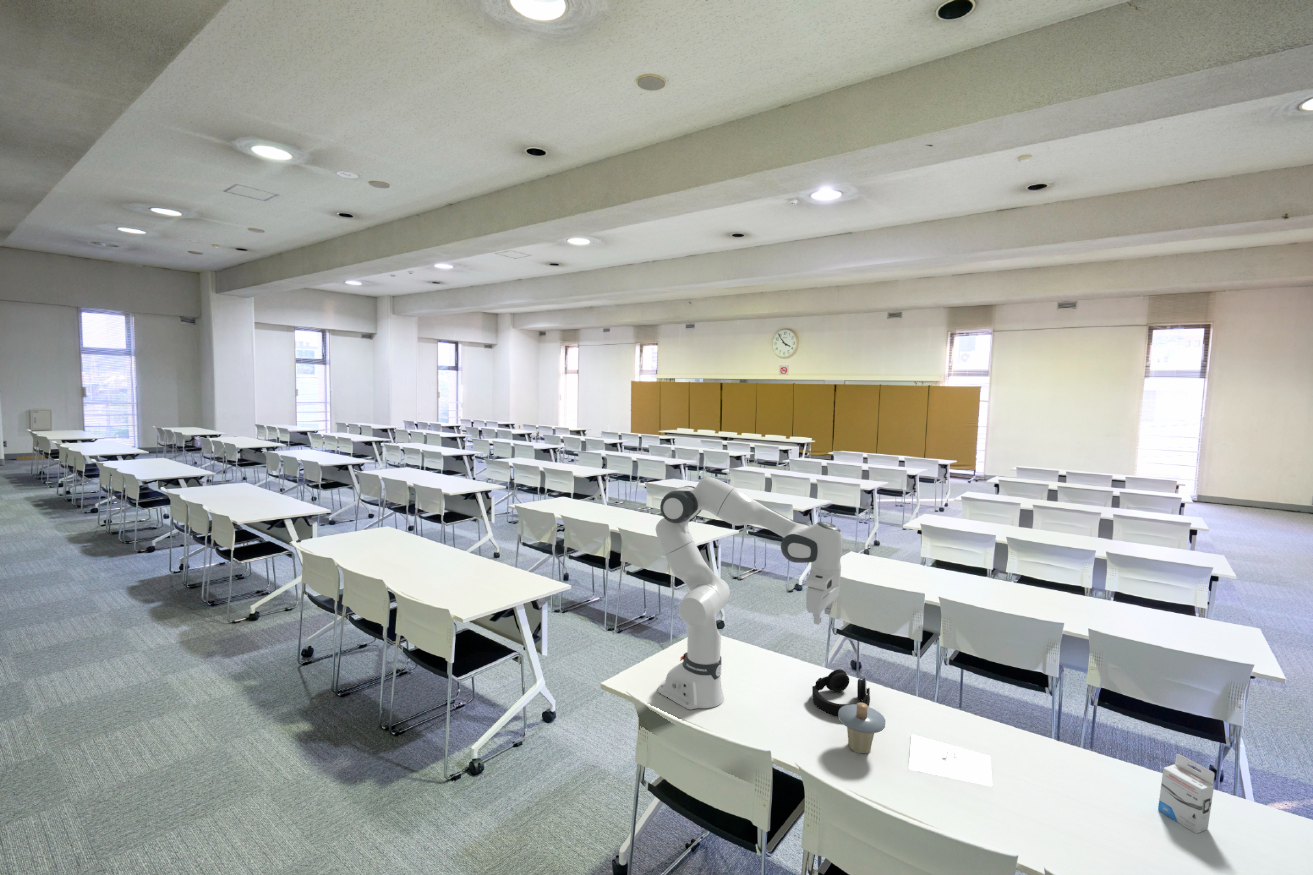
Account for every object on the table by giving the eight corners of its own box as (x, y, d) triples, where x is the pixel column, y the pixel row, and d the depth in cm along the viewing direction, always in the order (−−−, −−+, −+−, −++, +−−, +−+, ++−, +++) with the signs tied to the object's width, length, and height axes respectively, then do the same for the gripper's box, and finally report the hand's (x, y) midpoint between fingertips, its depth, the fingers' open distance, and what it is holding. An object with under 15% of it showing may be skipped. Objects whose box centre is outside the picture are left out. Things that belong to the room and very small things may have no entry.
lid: (832, 722, 172) (833, 708, 172) (845, 702, 183) (846, 688, 183) (878, 738, 165) (879, 723, 165) (890, 716, 176) (891, 702, 175)
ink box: (1156, 809, 152) (1163, 755, 150) (1168, 805, 154) (1175, 751, 152) (1196, 834, 144) (1203, 777, 142) (1209, 829, 146) (1216, 772, 144)
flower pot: (879, 759, 170) (880, 731, 169) (844, 754, 172) (846, 726, 171) (873, 740, 179) (875, 712, 178) (841, 735, 181) (842, 708, 180)
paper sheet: (1000, 761, 170) (1000, 758, 170) (993, 829, 146) (993, 825, 146) (912, 733, 183) (912, 729, 183) (892, 790, 159) (892, 787, 159)
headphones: (879, 677, 200) (854, 708, 185) (879, 698, 201) (854, 730, 187) (830, 660, 211) (802, 688, 197) (830, 680, 213) (803, 709, 198)
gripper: (826, 564, 193) (824, 605, 195) (803, 581, 177) (800, 626, 178) (846, 568, 190) (843, 610, 191) (824, 586, 173) (821, 632, 175)
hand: (822, 618), depth 185 cm, fingers open, 8 cm apart
